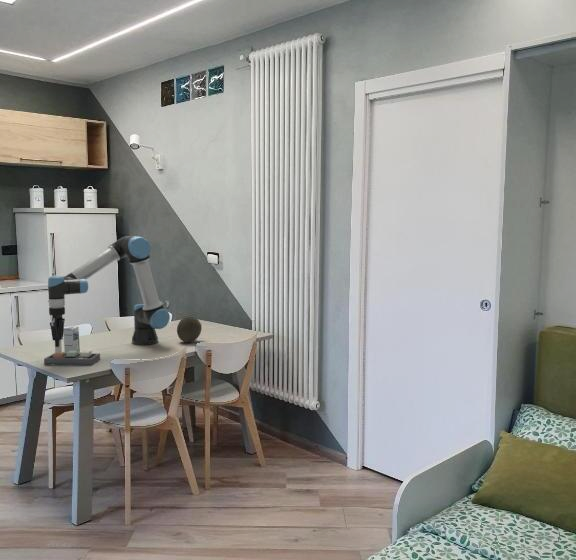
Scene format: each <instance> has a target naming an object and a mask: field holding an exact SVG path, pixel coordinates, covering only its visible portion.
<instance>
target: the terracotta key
mask: <svg viewBox="0 0 576 560" xmlns="http://www.w3.org/2000/svg"><path fill="white" fill-rule="evenodd" d="M52 354H53V358H62V357H64V356H65V351H62V352H61V353H55V352H54V353H52Z"/></svg>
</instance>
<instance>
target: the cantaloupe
mask: <svg viewBox="0 0 576 560" xmlns="http://www.w3.org/2000/svg"><path fill="white" fill-rule="evenodd" d="M201 332H202V323H201V321H200V320H199V319H198V318H196V317H194V316H185V317H183V318H181V319H180V321H179V322H178V323H177V328H176V334H177V337H178V338H179V340H181V341H182V342H184V343H186V344H190V342H191V343H193V342H194V341H196V340H197V339H198V338H199V337H200V335H201Z"/></svg>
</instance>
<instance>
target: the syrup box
mask: <svg viewBox="0 0 576 560" xmlns="http://www.w3.org/2000/svg"><path fill="white" fill-rule="evenodd" d="M79 330H80V329H79V326H77V325H76V326H75V325H73V326H67V327H64V332H63V345H64V346H63V348H64V350H63V352H65V353H67V352H68V351H78V353H80V352H81V350H80V331H79Z"/></svg>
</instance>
